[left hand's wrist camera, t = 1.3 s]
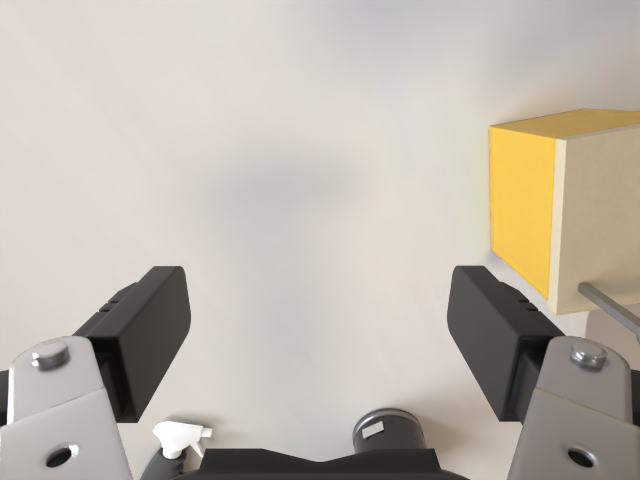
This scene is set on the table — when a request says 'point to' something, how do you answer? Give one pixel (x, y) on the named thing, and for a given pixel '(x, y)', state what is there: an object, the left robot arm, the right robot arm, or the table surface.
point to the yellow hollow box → (533, 185)
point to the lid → (596, 224)
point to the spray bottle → (174, 449)
